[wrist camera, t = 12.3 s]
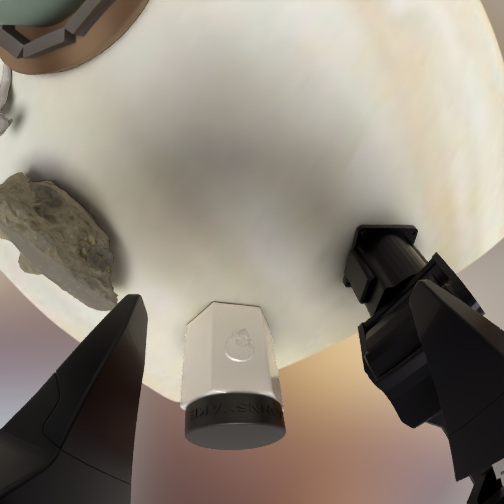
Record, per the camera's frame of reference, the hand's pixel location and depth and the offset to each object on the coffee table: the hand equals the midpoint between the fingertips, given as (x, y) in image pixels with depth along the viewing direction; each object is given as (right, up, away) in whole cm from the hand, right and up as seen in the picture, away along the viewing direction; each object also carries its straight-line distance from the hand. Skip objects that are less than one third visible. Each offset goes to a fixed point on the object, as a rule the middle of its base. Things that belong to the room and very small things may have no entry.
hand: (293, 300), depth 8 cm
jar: (-4, -6, +20) cm, 22 cm away
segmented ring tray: (-14, +19, +1) cm, 24 cm away
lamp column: (-13, +18, -1) cm, 23 cm away
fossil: (-17, +4, +12) cm, 21 cm away
